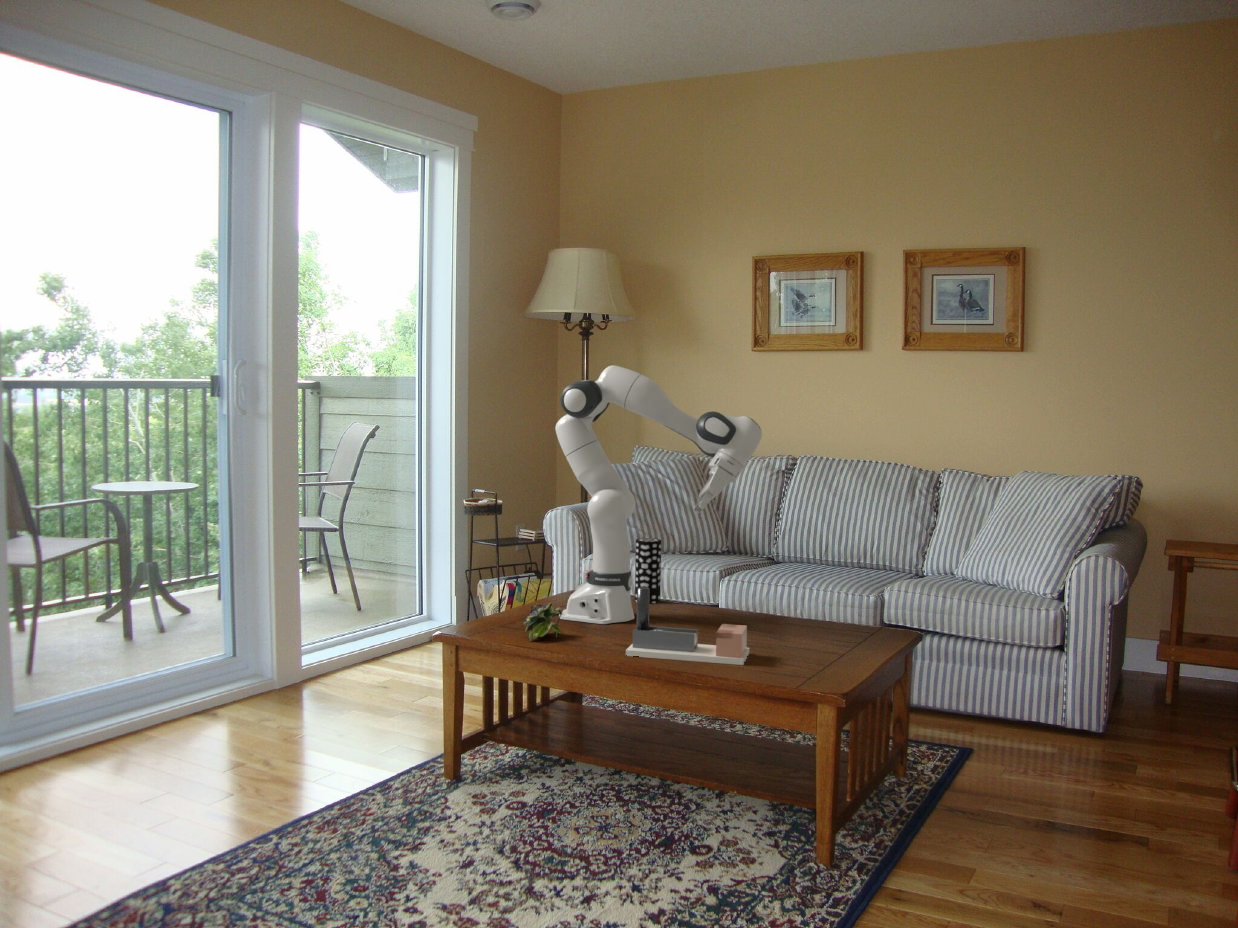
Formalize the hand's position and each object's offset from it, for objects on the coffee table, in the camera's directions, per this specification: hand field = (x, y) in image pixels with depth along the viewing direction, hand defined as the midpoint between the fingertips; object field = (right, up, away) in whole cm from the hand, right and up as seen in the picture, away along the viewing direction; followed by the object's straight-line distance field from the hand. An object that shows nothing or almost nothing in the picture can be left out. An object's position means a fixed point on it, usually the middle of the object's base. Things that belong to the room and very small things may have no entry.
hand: (698, 509), depth 283 cm
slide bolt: (-10, -33, -22) cm, 41 cm away
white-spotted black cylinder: (-13, -32, +45) cm, 56 cm away
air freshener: (-31, -32, +43) cm, 62 cm away
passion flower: (-43, -35, -7) cm, 55 cm away
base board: (-5, -36, -24) cm, 43 cm away
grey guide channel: (-10, -34, -22) cm, 42 cm away
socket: (+6, -35, -26) cm, 44 cm away
